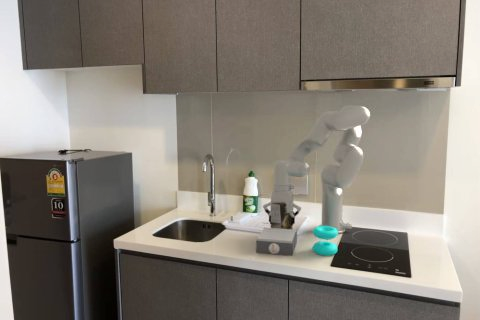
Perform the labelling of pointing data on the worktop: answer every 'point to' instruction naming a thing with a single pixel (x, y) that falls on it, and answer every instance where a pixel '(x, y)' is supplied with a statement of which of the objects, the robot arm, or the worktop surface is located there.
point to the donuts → (325, 246)
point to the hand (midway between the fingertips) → (281, 224)
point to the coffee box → (280, 216)
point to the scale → (276, 241)
